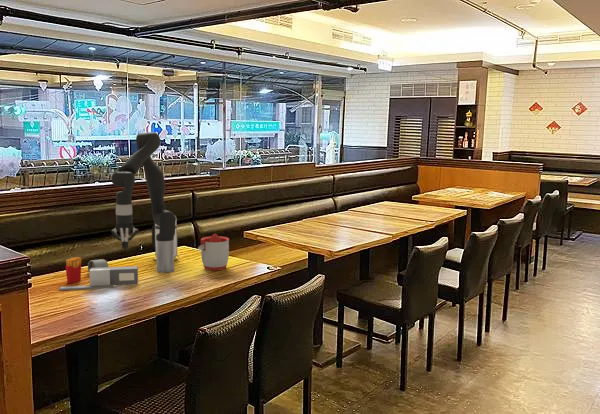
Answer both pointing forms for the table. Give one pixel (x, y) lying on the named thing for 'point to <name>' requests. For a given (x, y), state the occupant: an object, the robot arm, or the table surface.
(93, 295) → the table surface
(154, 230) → the coffee press
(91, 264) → the ceramic mug
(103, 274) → the sliding shutter
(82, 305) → the table surface
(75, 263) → the french fries
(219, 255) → the citrus juicer
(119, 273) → the grey box with rod
